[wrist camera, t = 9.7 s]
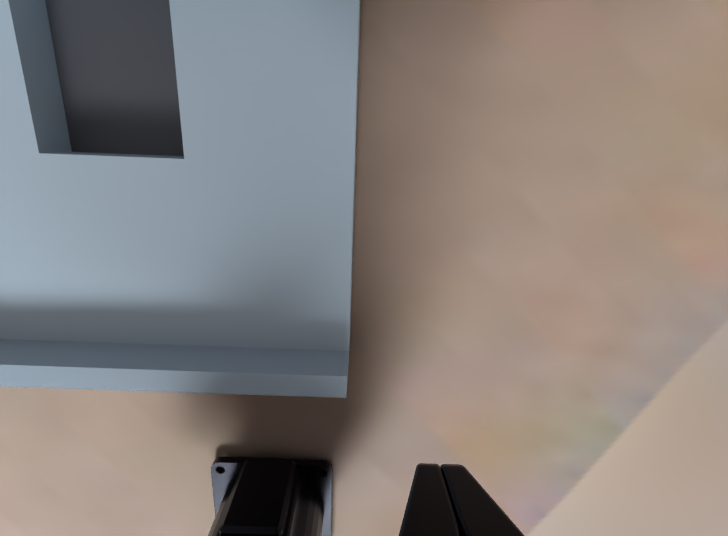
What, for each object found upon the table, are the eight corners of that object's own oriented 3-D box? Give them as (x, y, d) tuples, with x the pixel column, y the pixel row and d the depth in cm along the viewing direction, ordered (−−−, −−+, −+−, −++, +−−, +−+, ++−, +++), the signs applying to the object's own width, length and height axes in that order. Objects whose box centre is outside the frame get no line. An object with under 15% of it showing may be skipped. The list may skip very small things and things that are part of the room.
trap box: (349, 348, 20) (346, 398, 16) (-179, 330, 20) (-308, 376, 16) (361, -29, 15) (360, -85, 11) (-339, -60, 15) (-580, -128, 11)
